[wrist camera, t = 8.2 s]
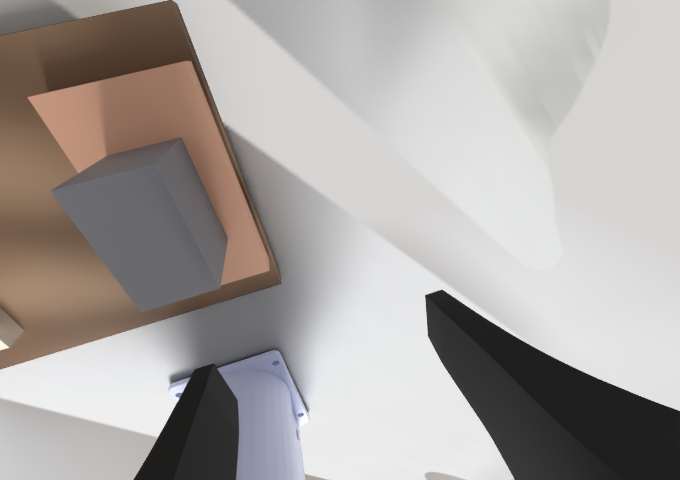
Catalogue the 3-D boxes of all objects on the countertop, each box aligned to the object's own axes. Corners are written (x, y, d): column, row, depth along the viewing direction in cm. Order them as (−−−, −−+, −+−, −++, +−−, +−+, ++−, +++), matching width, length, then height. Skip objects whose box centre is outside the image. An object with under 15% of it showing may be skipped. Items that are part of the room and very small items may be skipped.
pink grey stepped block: (269, 258, 18) (273, 323, 13) (170, 287, 17) (140, 365, 13) (191, 60, 13) (156, 60, 8) (46, 94, 12) (-74, 112, 8)
